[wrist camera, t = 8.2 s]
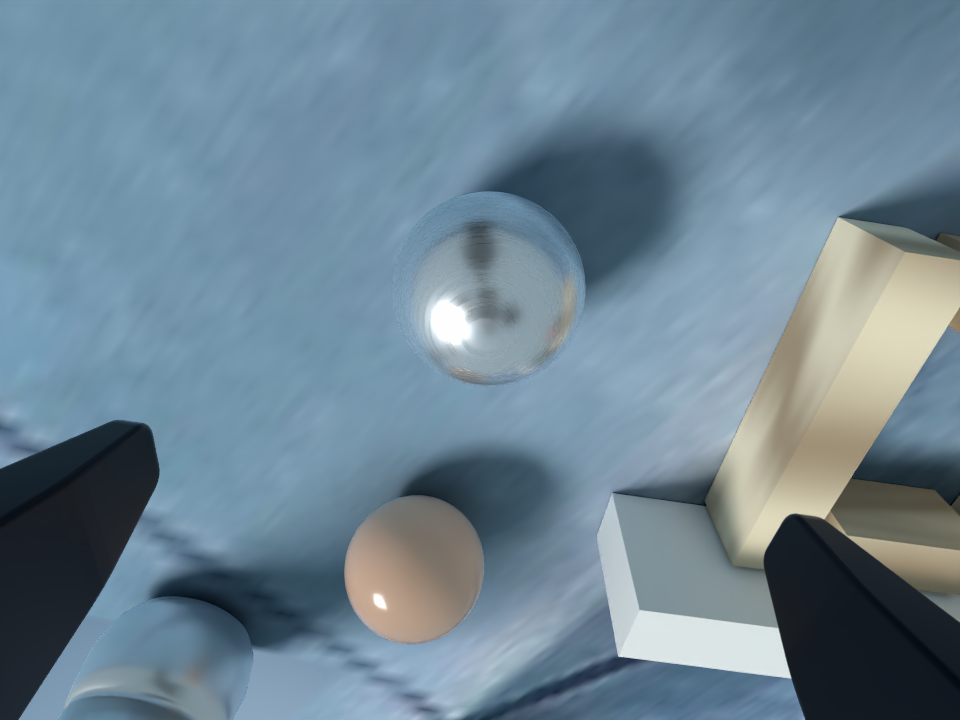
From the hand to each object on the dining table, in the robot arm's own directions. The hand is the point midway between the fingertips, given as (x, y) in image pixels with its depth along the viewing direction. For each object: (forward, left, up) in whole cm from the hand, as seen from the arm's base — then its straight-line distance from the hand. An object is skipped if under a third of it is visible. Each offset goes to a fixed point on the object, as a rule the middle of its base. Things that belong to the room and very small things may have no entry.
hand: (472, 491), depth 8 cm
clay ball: (+11, -1, -8) cm, 13 cm away
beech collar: (+3, +15, -10) cm, 18 cm away
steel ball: (0, 0, -8) cm, 8 cm away
